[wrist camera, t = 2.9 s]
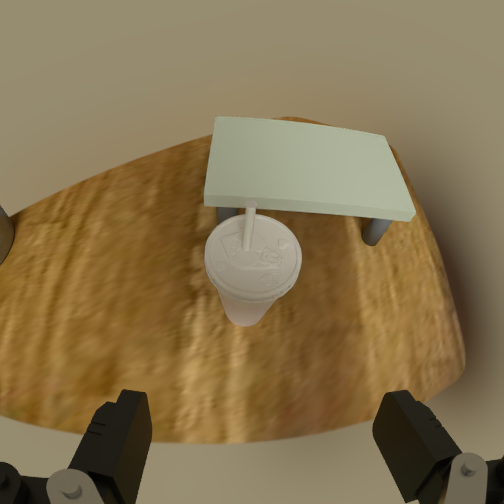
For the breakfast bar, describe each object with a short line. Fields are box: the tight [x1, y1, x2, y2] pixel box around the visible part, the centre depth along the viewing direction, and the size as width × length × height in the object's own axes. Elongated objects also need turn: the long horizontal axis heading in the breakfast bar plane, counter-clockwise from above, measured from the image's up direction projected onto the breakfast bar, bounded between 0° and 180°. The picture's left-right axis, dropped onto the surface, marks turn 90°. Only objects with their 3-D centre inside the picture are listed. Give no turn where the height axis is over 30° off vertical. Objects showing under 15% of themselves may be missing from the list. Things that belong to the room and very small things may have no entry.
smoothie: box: [204, 201, 302, 327], centre depth 22 cm, size 6×6×14 cm
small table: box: [204, 116, 416, 246], centre depth 32 cm, size 20×12×7 cm, turn 90°
